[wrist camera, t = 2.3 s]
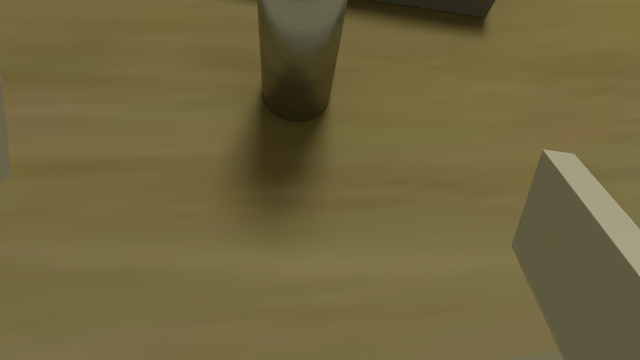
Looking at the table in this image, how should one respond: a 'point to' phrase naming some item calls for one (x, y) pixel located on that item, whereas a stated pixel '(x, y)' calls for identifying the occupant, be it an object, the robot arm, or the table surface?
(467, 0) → the hole block
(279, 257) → the table surface
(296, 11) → the steel pin
